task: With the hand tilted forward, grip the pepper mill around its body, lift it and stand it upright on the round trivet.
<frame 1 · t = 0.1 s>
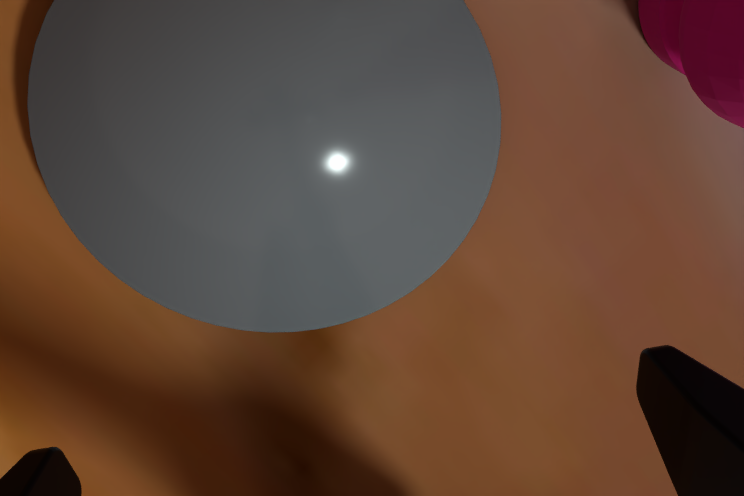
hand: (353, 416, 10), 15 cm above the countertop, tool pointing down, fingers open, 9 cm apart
trivet: (275, 144, 23), on the countertop
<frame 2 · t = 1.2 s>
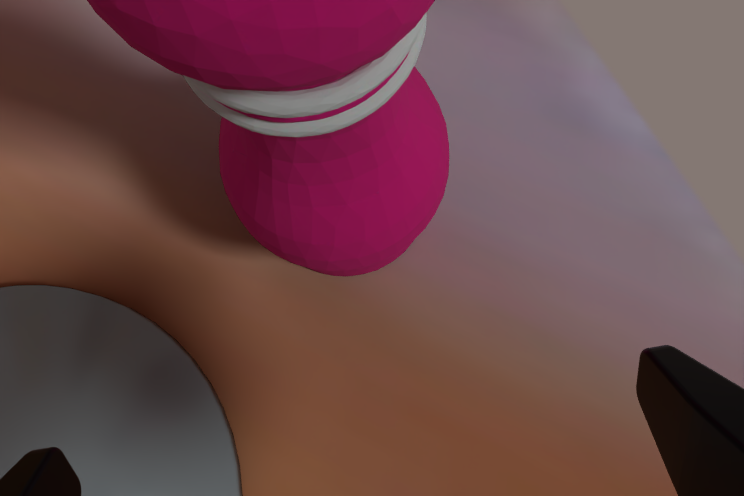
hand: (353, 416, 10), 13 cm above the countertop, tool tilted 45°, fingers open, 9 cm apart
pepper mill: (346, 198, 25), on the countertop
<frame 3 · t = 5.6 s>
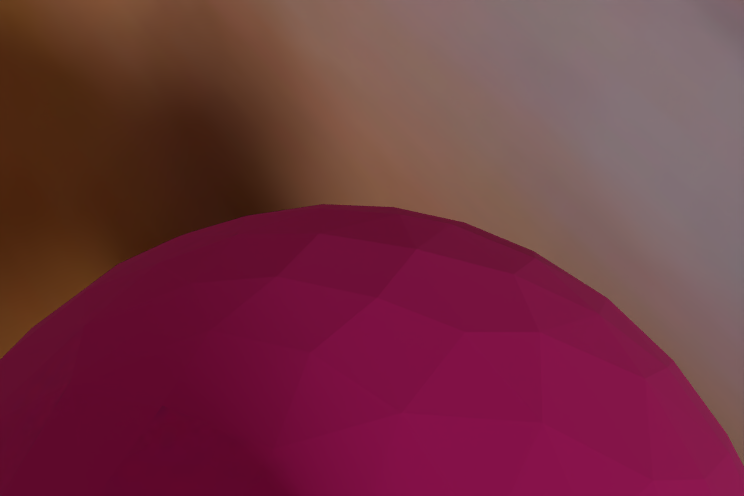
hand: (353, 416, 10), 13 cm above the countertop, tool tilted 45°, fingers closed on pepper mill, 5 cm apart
pepper mill: (387, 446, 20), point 2 cm above the countertop, touching gripper
when the fingers open (12 cm above the countertop, at t = 6.9 s): pepper mill stays where it is, resting on trivet.
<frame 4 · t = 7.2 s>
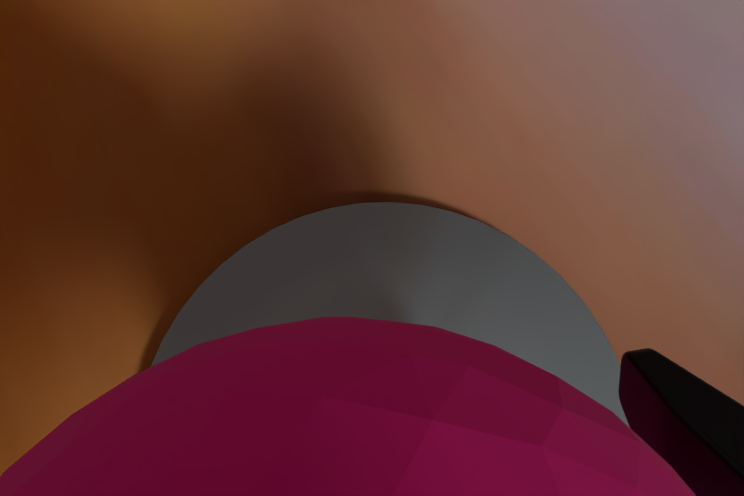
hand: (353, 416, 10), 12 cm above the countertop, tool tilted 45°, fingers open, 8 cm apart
pepper mill: (387, 460, 20), point 1 cm above the countertop, touching gripper, trivet
trivet: (383, 443, 21), on the countertop
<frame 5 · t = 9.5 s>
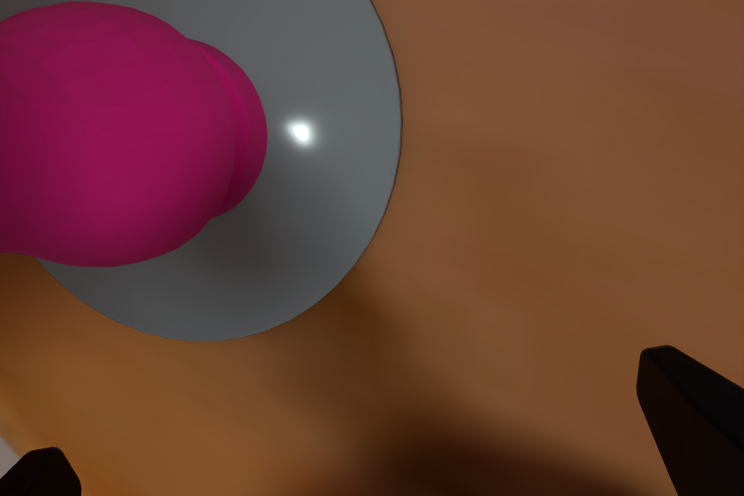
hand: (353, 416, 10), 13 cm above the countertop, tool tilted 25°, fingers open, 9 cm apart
pepper mill: (187, 132, 22), point 1 cm above the countertop, touching trivet
trivet: (183, 124, 23), on the countertop
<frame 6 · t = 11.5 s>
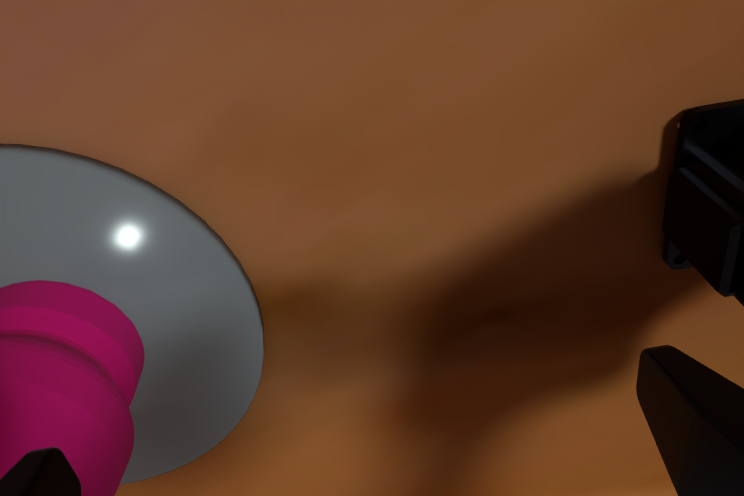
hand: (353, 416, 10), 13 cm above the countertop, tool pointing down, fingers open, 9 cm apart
pepper mill: (60, 342, 24), point 1 cm above the countertop, touching trivet
trivet: (54, 336, 25), on the countertop
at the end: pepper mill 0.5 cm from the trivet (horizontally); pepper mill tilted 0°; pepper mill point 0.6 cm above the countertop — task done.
